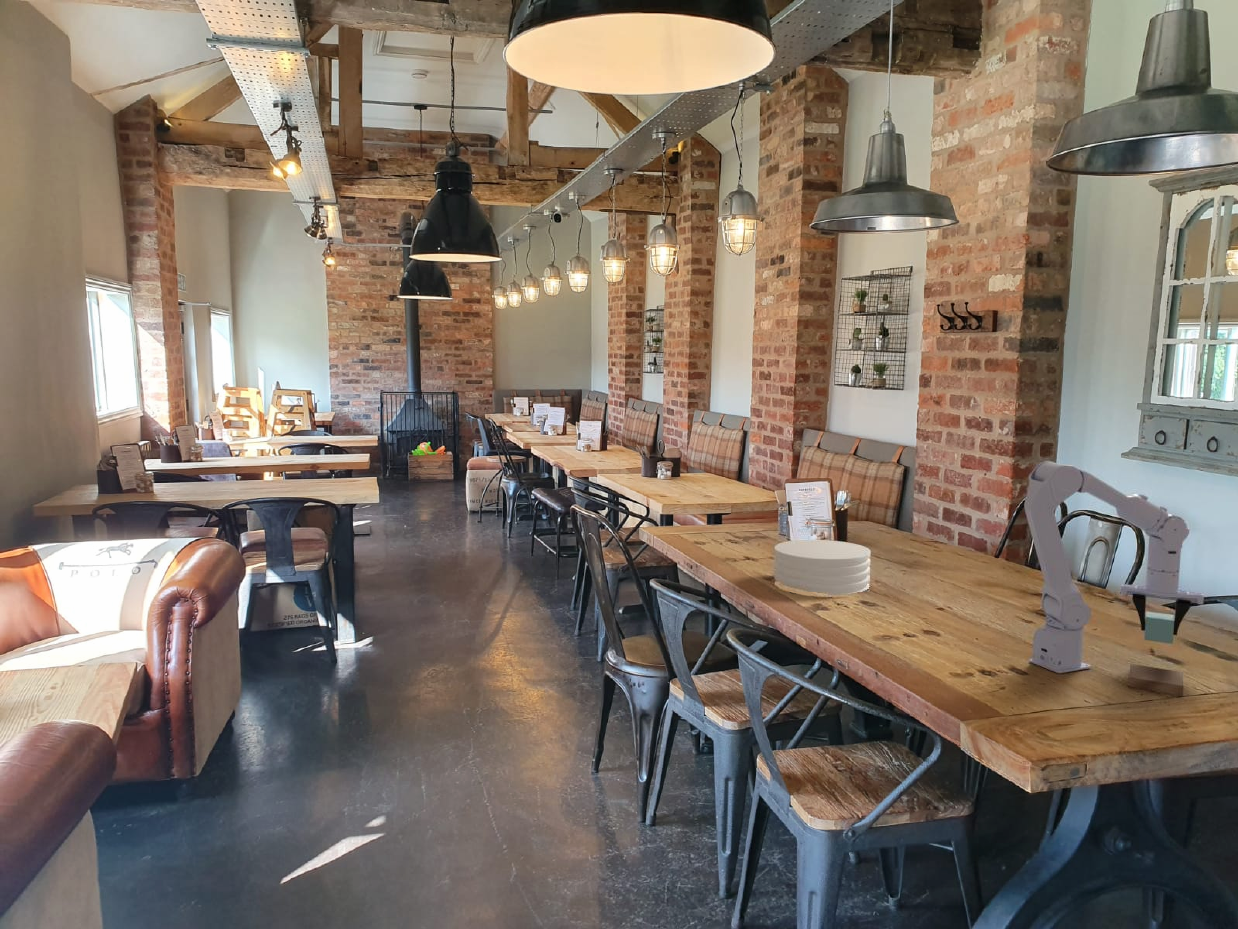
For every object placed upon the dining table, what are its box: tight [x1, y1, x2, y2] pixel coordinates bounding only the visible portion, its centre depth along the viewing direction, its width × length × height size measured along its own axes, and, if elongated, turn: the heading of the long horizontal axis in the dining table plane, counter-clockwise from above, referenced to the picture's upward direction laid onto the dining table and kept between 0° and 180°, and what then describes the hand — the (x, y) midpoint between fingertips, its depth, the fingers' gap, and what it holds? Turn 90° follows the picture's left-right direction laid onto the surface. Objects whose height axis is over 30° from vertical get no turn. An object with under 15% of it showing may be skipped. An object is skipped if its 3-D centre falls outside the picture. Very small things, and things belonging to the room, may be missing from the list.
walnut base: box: [1128, 663, 1185, 697], centre depth 164 cm, size 9×9×2 cm
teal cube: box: [1143, 611, 1175, 645], centre depth 173 cm, size 5×5×5 cm
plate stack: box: [773, 539, 872, 595], centre depth 243 cm, size 28×28×12 cm
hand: (1158, 631), depth 173 cm, fingers closed on teal cube, 5 cm apart
